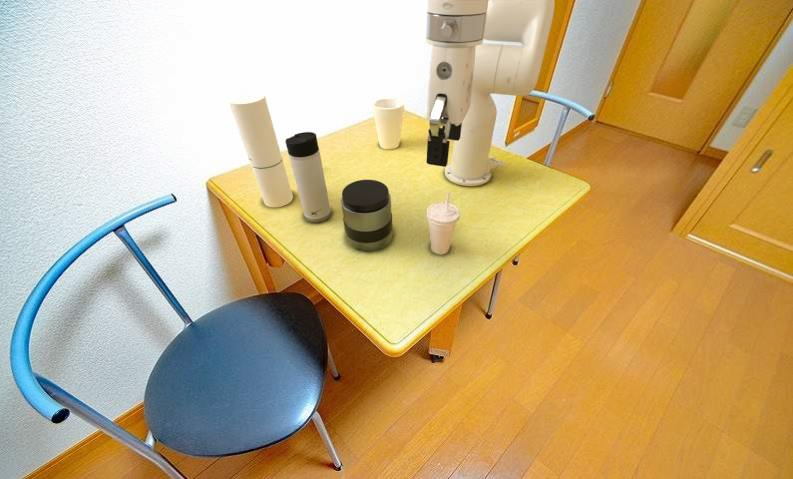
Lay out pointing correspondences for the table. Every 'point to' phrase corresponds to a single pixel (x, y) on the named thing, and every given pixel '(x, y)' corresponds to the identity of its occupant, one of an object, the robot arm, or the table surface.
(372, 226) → the jar
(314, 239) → the table surface
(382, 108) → the foam cup
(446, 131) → the robot arm
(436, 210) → the smoothie
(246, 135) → the cylindrical container
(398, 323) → the table surface
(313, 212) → the travel mug
